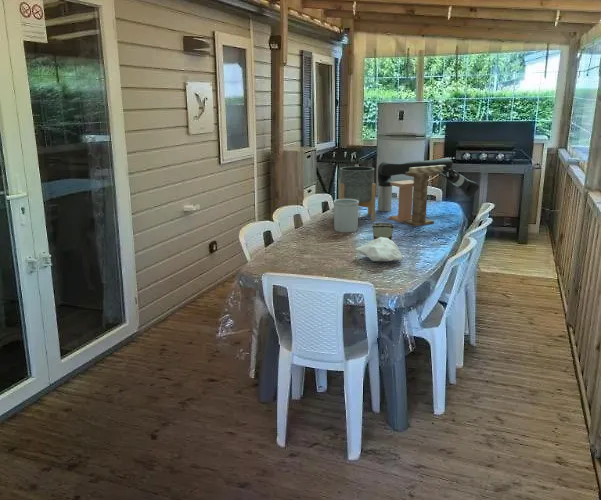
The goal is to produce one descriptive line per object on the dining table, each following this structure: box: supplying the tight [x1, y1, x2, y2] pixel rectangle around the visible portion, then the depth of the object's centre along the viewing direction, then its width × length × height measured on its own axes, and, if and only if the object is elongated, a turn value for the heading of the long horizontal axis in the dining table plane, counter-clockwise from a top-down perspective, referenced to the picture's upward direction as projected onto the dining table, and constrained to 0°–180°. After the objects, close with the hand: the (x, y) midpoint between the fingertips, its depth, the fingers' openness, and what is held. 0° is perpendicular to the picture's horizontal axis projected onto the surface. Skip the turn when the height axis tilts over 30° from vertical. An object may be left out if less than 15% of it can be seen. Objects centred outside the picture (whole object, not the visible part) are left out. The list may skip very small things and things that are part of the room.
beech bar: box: [409, 165, 446, 173], centre depth 337 cm, size 26×3×3 cm, turn 118°
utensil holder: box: [333, 198, 359, 233], centre depth 326 cm, size 15×15×18 cm
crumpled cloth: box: [354, 237, 403, 263], centre depth 269 cm, size 24×35×9 cm
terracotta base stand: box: [388, 179, 414, 223], centre depth 352 cm, size 16×12×24 cm
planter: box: [338, 166, 377, 222], centre depth 358 cm, size 22×22×32 cm
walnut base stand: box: [402, 171, 438, 227], centre depth 339 cm, size 16×10×32 cm, turn 118°
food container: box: [371, 222, 396, 241], centre depth 301 cm, size 12×6×10 cm, turn 84°
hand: (438, 166), depth 340 cm, fingers open, 8 cm apart
